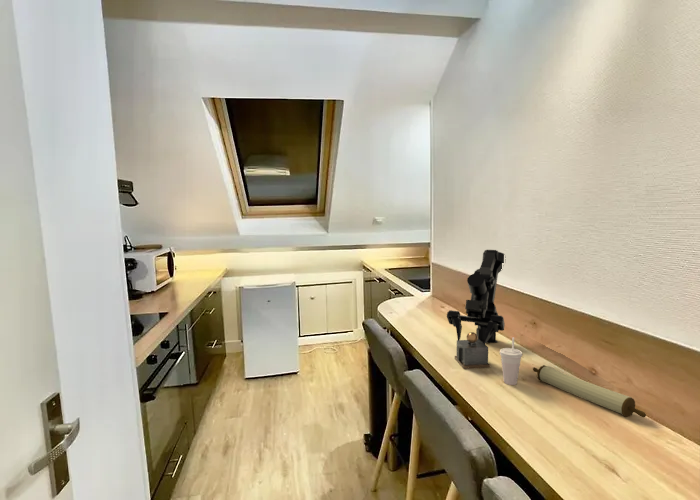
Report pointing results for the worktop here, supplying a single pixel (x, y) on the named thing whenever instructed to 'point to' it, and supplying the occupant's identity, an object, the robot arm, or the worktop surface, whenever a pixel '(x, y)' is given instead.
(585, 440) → the worktop surface
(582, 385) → the rolling pin
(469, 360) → the copper ball lever box
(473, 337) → the copper ball knob
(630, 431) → the worktop surface
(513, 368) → the smoothie
